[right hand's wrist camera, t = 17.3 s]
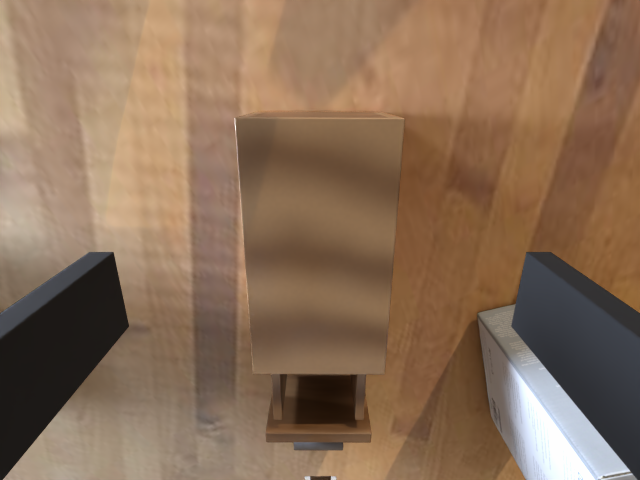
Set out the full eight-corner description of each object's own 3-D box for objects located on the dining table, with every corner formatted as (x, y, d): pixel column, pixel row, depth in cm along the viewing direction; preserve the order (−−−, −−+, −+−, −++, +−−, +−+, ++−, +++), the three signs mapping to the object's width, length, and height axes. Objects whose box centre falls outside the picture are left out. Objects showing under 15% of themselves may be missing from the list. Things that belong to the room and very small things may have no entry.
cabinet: (370, 312, 42) (384, 374, 33) (267, 312, 42) (252, 374, 33) (382, 111, 35) (405, 118, 25) (257, 111, 35) (234, 117, 25)
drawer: (360, 420, 46) (367, 484, 39) (276, 420, 46) (268, 484, 39) (371, 221, 37) (384, 253, 30) (267, 220, 37) (254, 253, 30)
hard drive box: (553, 403, 46) (709, 610, 28) (489, 416, 47) (600, 626, 29) (545, 294, 41) (731, 460, 22) (473, 310, 42) (597, 484, 23)
